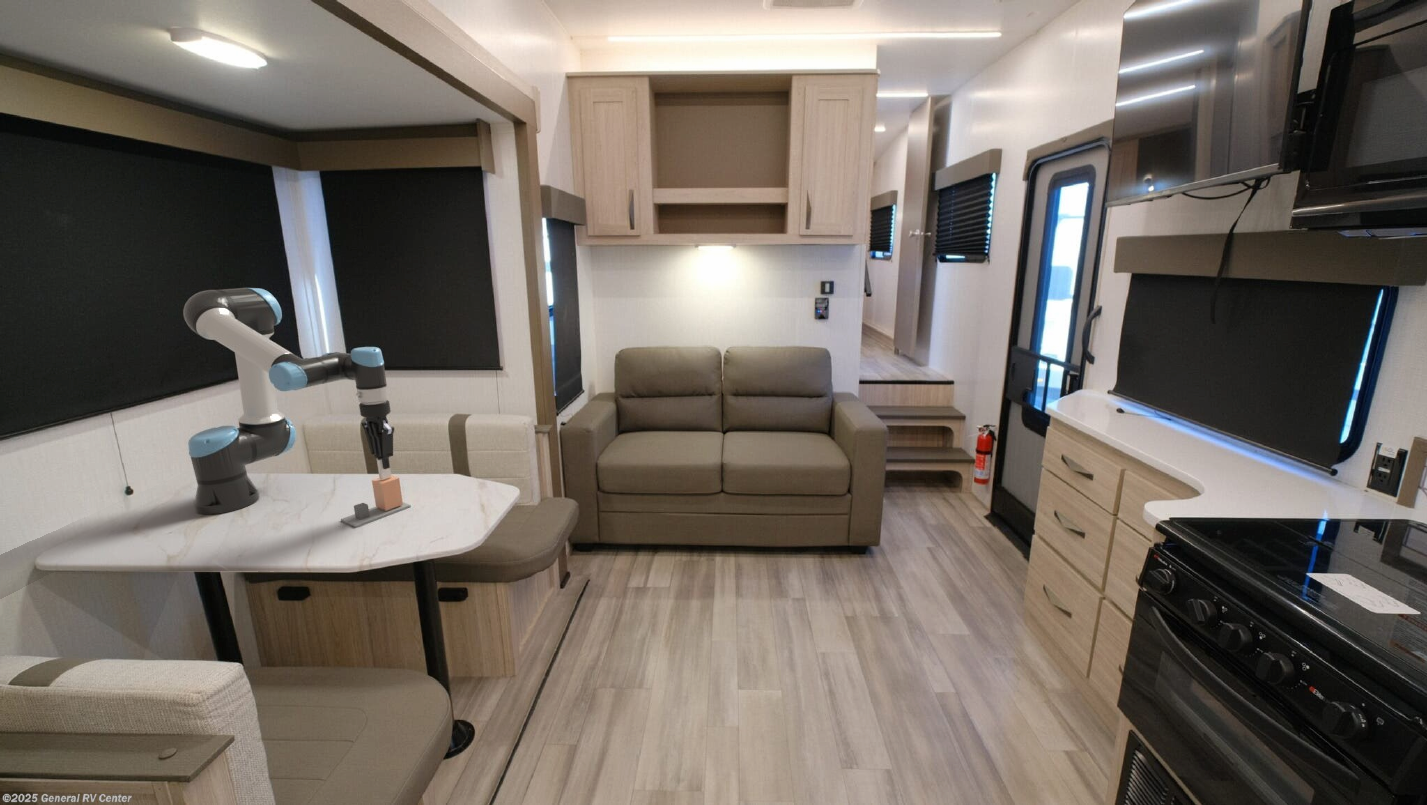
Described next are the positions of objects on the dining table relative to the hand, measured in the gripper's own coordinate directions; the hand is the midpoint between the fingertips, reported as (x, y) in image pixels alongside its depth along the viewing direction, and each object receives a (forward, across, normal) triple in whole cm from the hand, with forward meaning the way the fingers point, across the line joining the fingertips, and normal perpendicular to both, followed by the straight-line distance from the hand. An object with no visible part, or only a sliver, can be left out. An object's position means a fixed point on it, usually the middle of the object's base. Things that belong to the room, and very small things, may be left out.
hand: (385, 478), depth 169 cm
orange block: (+9, 0, 0) cm, 9 cm away
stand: (+10, 0, -4) cm, 11 cm away
